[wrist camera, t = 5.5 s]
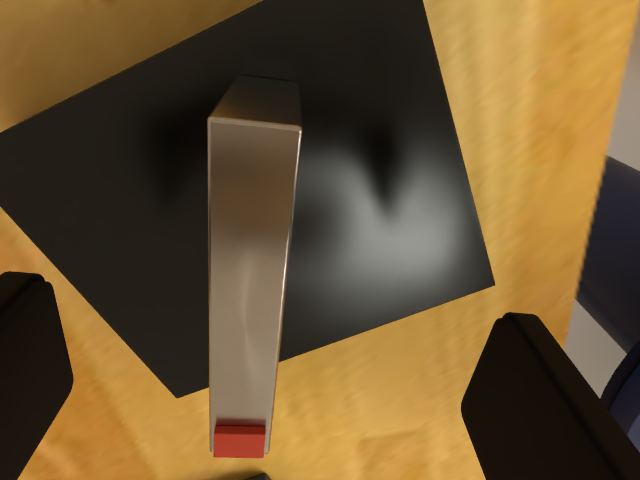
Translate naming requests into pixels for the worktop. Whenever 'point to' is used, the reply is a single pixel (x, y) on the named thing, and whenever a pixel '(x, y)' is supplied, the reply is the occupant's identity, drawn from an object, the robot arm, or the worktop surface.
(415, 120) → the base
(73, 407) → the worktop surface
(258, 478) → the red push button box
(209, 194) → the silver lever handle
